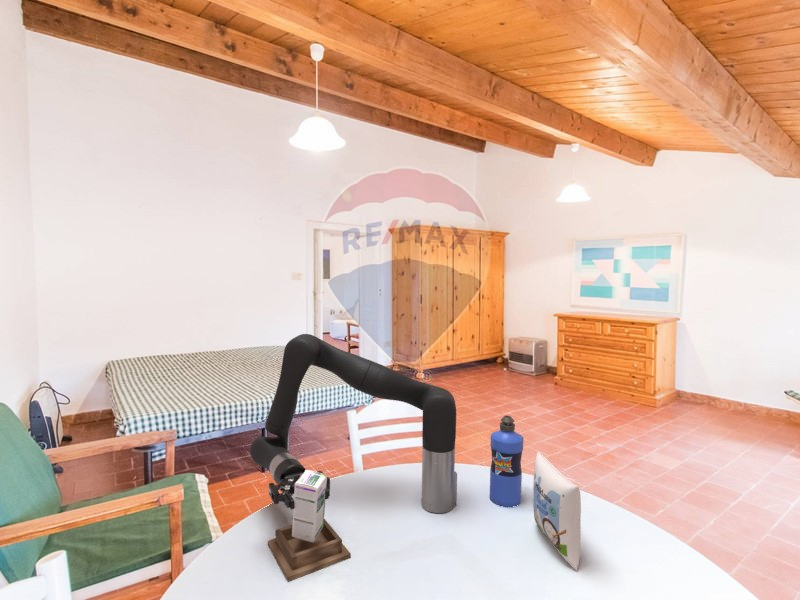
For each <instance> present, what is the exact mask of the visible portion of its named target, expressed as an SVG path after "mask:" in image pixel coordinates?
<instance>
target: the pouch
mask: <svg viewBox="0 0 800 600" xmlns="http://www.w3.org/2000/svg"><path fill="white" fill-rule="evenodd" d="M533 469H534V470H533V484H532V485H533V486H532V487H533V489H532V490H533V495H532V496H533V497H532V499H533V500H532V503H533V516H534V517H533V518H534V522H535V524H536V525H537V527H538V528H539V529H540V531H542V533H543V534H544V535H545V536H546V538H547V539H548V540H549V541H550V543H551V544H552V546H553V547H554V548H555V549H556V550H557V551H558V553H559V554H560V555H561V557H563V559H564V560H565V561H566V563H568V565H570V566H571V567H572V568H573V569H574V570H575V572H578V568H579V565H580V564H579V563H580V555H581V538H582V537H581V535H582V534H581V532H582V531H581V529H582V527H581V524H582V523H581V521H582V520H581V513H582V507H581V506H582V504H581V503H582V502H581V489H580V488H579V486H578V485H577V484H575V483H574V482H573V481H571V480H570V479H569V478H567V477H566V476H565V475H564V474H563V473H562V472H560V470H559V469H558V468H557V467H556V466H555V465H553V464H552V462H550V461H549V459H547V458H546V457H545V456H544V455H543V454H542V453H541V452H540V451H537V454H536V457H535V461H534V468H533Z"/></svg>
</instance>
